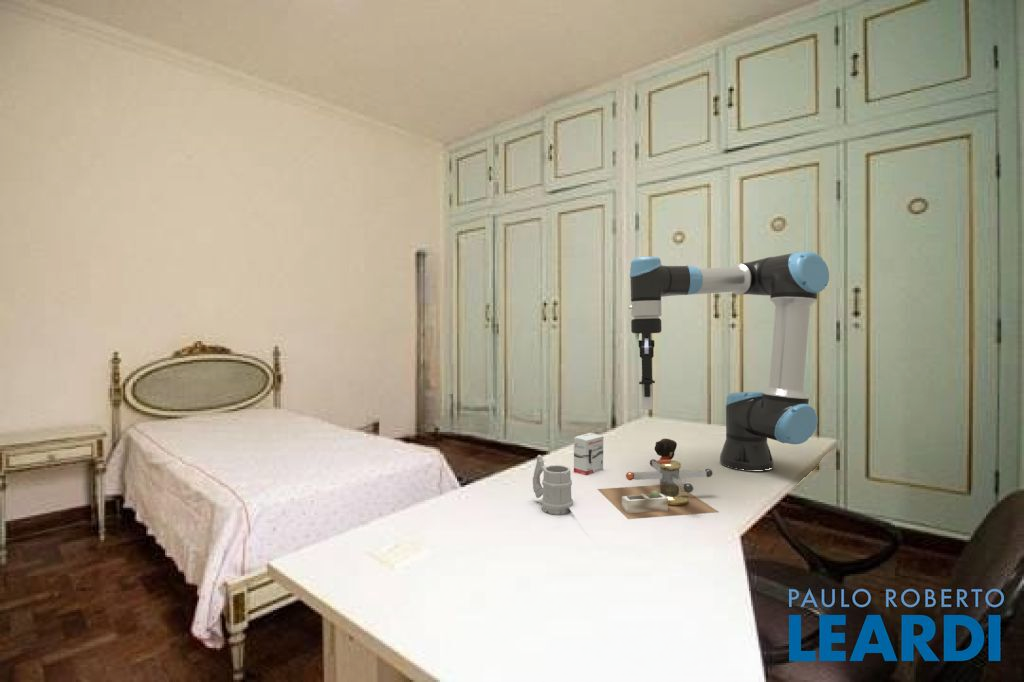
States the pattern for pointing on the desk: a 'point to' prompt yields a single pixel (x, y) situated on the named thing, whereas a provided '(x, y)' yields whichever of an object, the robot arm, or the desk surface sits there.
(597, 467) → the ink box
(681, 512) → the stand
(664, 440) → the figurine
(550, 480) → the mug
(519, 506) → the desk surface
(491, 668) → the desk surface
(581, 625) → the desk surface
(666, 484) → the capstan
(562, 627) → the desk surface
